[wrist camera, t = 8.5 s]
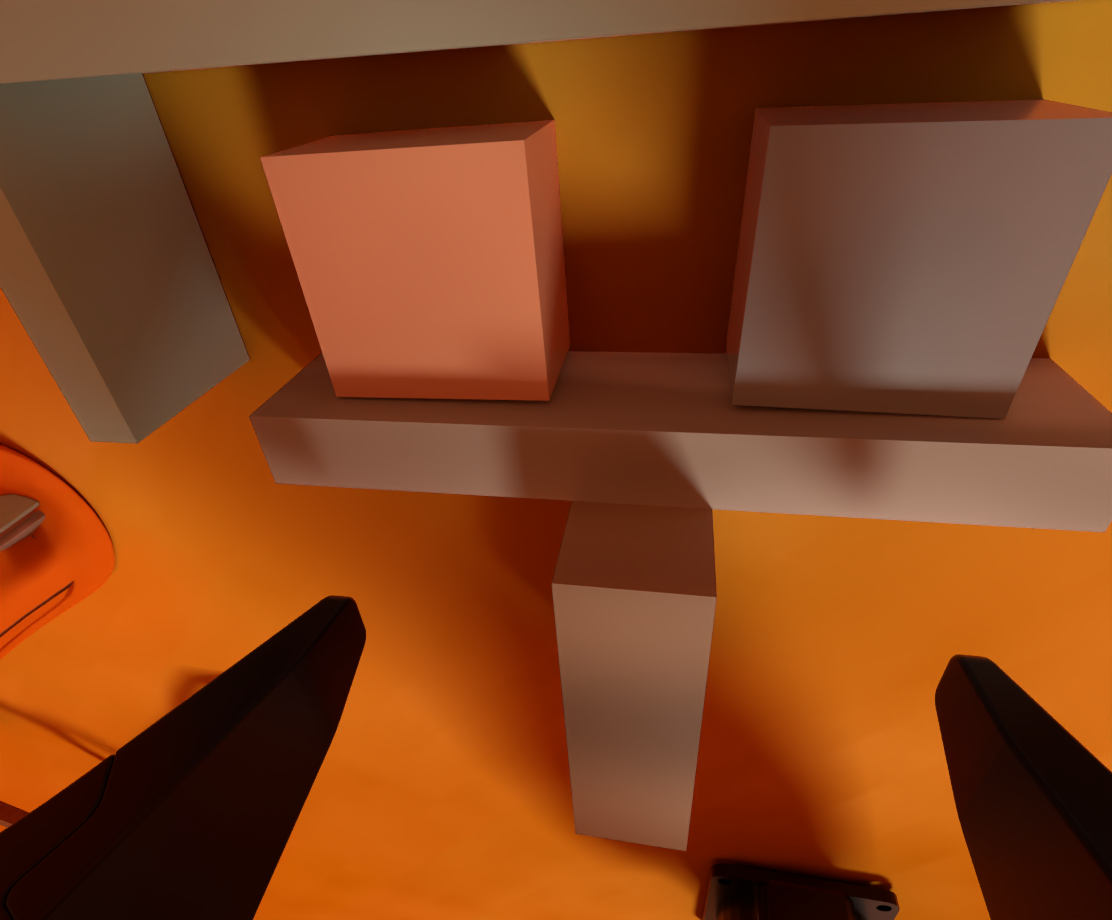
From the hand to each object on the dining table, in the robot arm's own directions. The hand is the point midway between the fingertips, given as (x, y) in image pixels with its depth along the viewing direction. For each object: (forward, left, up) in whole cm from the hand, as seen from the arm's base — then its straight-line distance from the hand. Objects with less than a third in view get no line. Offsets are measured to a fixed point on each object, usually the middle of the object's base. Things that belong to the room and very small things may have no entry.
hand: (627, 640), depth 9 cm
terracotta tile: (+5, +4, -5) cm, 8 cm away
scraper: (-2, 0, -5) cm, 6 cm away
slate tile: (+5, -4, -5) cm, 8 cm away
